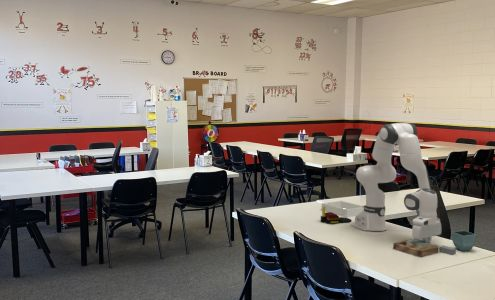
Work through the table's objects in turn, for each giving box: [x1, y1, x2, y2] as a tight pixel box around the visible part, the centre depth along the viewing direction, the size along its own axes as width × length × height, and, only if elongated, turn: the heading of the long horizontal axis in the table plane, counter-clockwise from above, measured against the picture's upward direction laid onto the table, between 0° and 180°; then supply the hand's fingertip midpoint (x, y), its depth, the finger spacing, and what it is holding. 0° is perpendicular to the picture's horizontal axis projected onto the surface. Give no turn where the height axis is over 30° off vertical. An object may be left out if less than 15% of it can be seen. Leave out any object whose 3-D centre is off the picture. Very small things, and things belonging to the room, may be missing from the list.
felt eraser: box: [438, 244, 457, 256], centre depth 249 cm, size 7×4×3 cm, turn 39°
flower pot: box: [451, 230, 477, 252], centre depth 254 cm, size 9×9×9 cm
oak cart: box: [406, 238, 433, 250], centre depth 254 cm, size 10×8×5 cm
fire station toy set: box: [320, 206, 352, 225], centre depth 312 cm, size 14×20×11 cm
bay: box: [392, 239, 440, 258], centre depth 252 cm, size 17×14×3 cm
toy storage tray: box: [321, 200, 365, 218], centre depth 338 cm, size 25×19×6 cm
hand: (426, 245), depth 257 cm, fingers closed
